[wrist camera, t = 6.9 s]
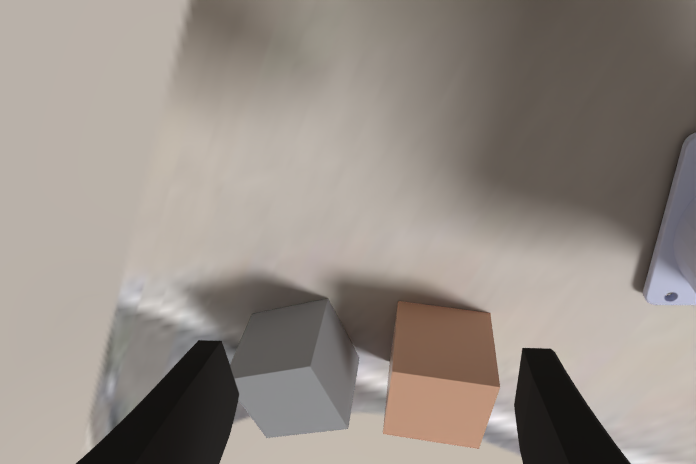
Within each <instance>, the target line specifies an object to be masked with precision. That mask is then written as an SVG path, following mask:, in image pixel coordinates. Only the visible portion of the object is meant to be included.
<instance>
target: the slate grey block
mask: <svg viewBox="0 0 696 464" xmlns="http://www.w3.org/2000/svg"><path fill="white" fill-rule="evenodd" d="M358 364H359V356H358V354H357V352H356V350H355V349H354V347H353V345H352V343H351V341H350V339H349V337H348V335H347V333H346V331H345V330H344V328H343V326H342V324H341V322H340V320H339V318H338V316H337V314H336V312H335V311H334V309H333V307H332V305H331V303H330V301H329V299H328V298H327V299H322V300H317V301H312V302H308V303H303V304H298V305H293V306H288V307H283V308H278V309H273V310H269V311H264V312H259V313H254V314H252V315H251V318H250V320H249V322H248V325H247V327H246V329H245V332H244V334H243V336H242V339H241V341H240V343H239V345H238V348H237V350H236V352H235V355H234V357H233V359H232V362H231V364H230V367H231V370H232V373H233V376H234V379H235V382H236V385H237V388H238V391H239V399H238V400H239V402H240V403H241V404H242V406H243V407H244V408H245V410H246V411H247V412H248V414H249V415H250V416H251V418H252V419H253V420H254V422H255V423H256V424H257V426H258V427H259V428H260V430H261V431H262V432H263V434H264V435H265V436H266V438H270V437H279V436H288V435H297V434H306V433H315V432H324V431H333V430H341V429H348V426H349V420H350V414H351V408H352V401H353V395H354V389H355V383H356V376H357V370H358Z"/></svg>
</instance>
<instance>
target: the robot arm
mask: <svg viewBox="0 0 696 464" xmlns="http://www.w3.org/2000/svg"><path fill="white" fill-rule="evenodd" d="M671 292H673V293H672V294H671V295H667V296H666V294H668V293H671ZM643 296H644V298H645V300H646V301H647V302H648V303H650V304H653V305H696V132H695V133H693V134H691V135H689V136H688V137H687V138H686V139H685V141H684V143H683V145H682V149H681V153H680V157H679V160H678V164H677V168H676V171H675V175H674V179H673V182H672V186H671V190H670V193H669V197H668V201H667V205H666V208H665V212H664V216H663V219H662V223H661V227H660V230H659V234H658V238H657V242H656V245H655V249H654V253H653V256H652V260H651V264H650V267H649V271H648V275H647V278H646V282H645V286H644V290H643ZM238 399H239V391H238V388H237V385H236V382H235V379H234V376H233V373H232V370H231V367H230V364H229V361H228V358H227V355H226V352H225V349H224V346H223V344H222V341H203V340H199V341H198V342H197V343H196V344H195V345H194V346H193V347H192V348H191V349H190V350H189V351H188V352H187V353H186V354H185V355H184V356H183V357H182V359H181V360H180V361H179V362H178V363H177V364H176V365H175V366H174V367H173V368H172V369H171V370H170V371H169V373H168V374H167V375H166V376H165V377H164V378H163V379H162V380H161V381H160V382H159V383H158V384H157V385H156V386H155V388H154V389H153V390H152V391H151V392H150V393H149V394H148V395H147V396H146V397H145V398H144V399H143V400H142V401H141V402H140V403H139V404H138V405H137V406H136V407H135V408H134V409H133V410H132V411H131V412H130V413H129V414H128V415H127V416H126V417H125V418H124V419H123V420H122V421H121V422H120V423H119V424H118V425H117V426H116V427H115V428H114V429H113V430H112V431H111V432H110V433H109V434H108V435H107V436H106V437H105V438H104V439H102V440H101V441H100V442H99V443H98V444H97V445H96V446H95V447H94V448H93V449H92V450H91V451H90V452H88V453H87V454H86V455H85V456H84V457H83V458H82V459H81V460H79V461H78V462H77V463H76V464H219V463H220V460H221V457H222V455H223V452H224V449H225V446H226V444H227V441H228V438H229V435H230V432H231V428H232V424H233V420H234V416H235V412H236V407H237V403H238ZM514 407H515V416H516V424H517V432H518V439H519V446H520V452H521V457H522V461H523V464H631V463H630V462H629V461H628V460H627V458H626V457H625V456H624V454H623V453H622V452H621V450H620V449H619V448H618V446H617V445H616V444H615V443H614V441H613V440H612V438H611V437H610V436H609V434H608V433H607V431H606V430H605V429H604V427H603V426H602V425H601V423H600V422H599V420H598V419H597V418H596V416H595V415H594V413H593V412H592V410H591V409H590V407H589V406H588V405H587V403H586V402H585V400H584V399H583V397H582V396H581V394H580V392H579V391H578V389H577V388H576V386H575V385H574V383H573V382H572V380H571V378H570V377H569V375H568V374H567V372H566V370H565V369H564V367H563V365H562V364H561V362H560V360H559V358H558V357H557V355H556V353H555V352H554V351H553V350H552V349H542V348H522V355H521V362H520V369H519V376H518V383H517V390H516V397H515V404H514Z"/></svg>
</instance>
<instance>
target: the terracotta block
mask: <svg viewBox="0 0 696 464" xmlns="http://www.w3.org/2000/svg"><path fill="white" fill-rule="evenodd" d="M499 389H500V383H499V375H498V368H497V360H496V353H495V345H494V338H493V330H492V323H491V315H490V313H486V312H478V311H470V310H463V309H455V308H448V307H440V306H432V305H425V304H417V303H410V302H402V301H398V306H397V313H396V320H395V328H394V335H393V342H392V349H391V356H390V365H389V375H388V386H387V396H386V407H385V417H384V428H383V434H387V435H393V436H400V437H406V438H412V439H419V440H425V441H432V442H438V443H444V444H452V445H457V446H464V447H470V448H477V449H479V447H480V444H481V441H482V438H483V435H484V432H485V430H486V427H487V424H488V421H489V418H490V415H491V412H492V409H493V406H494V403H495V401H496V398H497V395H498V392H499Z"/></svg>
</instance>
